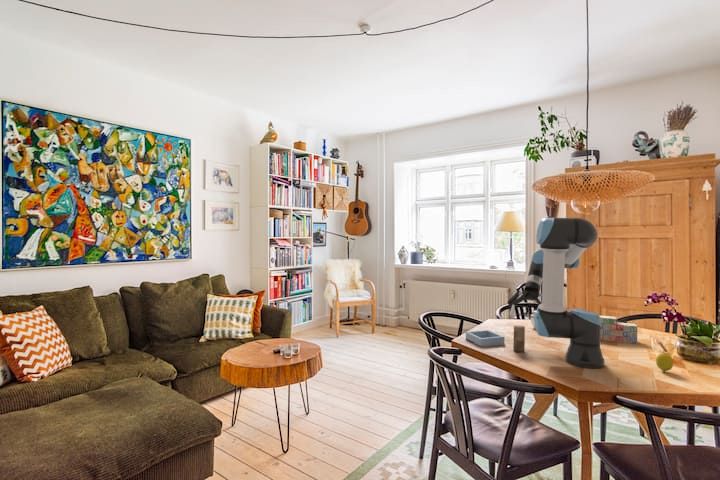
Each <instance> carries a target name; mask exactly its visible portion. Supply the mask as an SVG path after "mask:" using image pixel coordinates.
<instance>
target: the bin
mask: <svg viewBox="0 0 720 480" xmlns="http://www.w3.org/2000/svg"><path fill="white" fill-rule="evenodd" d="M466 339H468V340H470V341H472V342H474V343H476V344H477V346H478V345H479V347H480V346H483V347H493V346H502V345H503V346H504V345H505V336H503V335H501V334H499V333H496V332H494V331H492V330H489V329H485V330H473V331H465V340H466ZM468 340H467V341H468ZM470 341H469V342H470ZM472 342H471V343H472ZM474 343H473V344H474ZM476 344H475V345H476Z"/></svg>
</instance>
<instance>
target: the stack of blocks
mask: <svg viewBox="0 0 720 480" xmlns="http://www.w3.org/2000/svg"><path fill="white" fill-rule="evenodd" d="M599 316H600V320H601V331H600V341H601V340H602V341H607V340H613V341H612V342H617V341H623V342H622V343H626V342H631V343H630V344H636V343H637V344H638V325H637V324H636V323H628V322H619V321H618V318H617V317H616V316H611V315H610V316H609V315H599Z"/></svg>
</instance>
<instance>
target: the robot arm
mask: <svg viewBox="0 0 720 480" xmlns="http://www.w3.org/2000/svg"><path fill="white" fill-rule="evenodd" d="M535 241H536V244H538V245H539V248H540V249H537V250H535V251H534V252H533V254H532V257H531V262H530V266H529V269H528V274H527V277H526V281H525V285H524V288H523V291H521V290H520V289H517V290H516V292H515V294H513V295H512V297H510V299H508V300H507V305H508V306H509V317H510V318H513V315H514V314H515V313H514V312H515V307H516V306H517V305H518V304H520V303H522V302H523V301H535V303H536V304H537V305H538V306H537V309H535V310H534V311H533V314H534V323H535V328H536V329H535V328H534V329H535V331H536V333H537V335H538V336H539V337H540V336H541V337H543V338H554V339H555V338H558V339H560V338H561V339H569V345H568V348H567V351H566V353H565V357H564V358H565V359H564V360H565V361H566V363H569V364H570V365H573V366H576V367H580V368H587V369H601V368H604V367H605V362H606V361H605V358H604V356H603V354H602V353H603V352H602V349H601V340H600V331H601V320H600V316H601V315H599V314H598V313H596V312H593V311H590V310H587V309H583V308H582V309H581V308H571V309H570V310H569V311H567V308H566V306H564V292H565V291H564V288H565V286H564V285H565V269H569V270H571V269H578V267H579V265H580V257H581V256H582V254H583V253H584V252H585V251H586V250H587V249H588V248H591V247H592V246H593V245H594V244H596V242H597V241H598V230H597V228H596V226H595V225H594V224H593V223H592V222H590V221H589V220H588V219H585V218H581V217H549V218H548V217H547V218H546V217H545V218H541V220H540V221H539V223H538V226H537V229H536V240H535ZM541 286H542V287H541ZM540 291H541V293H540ZM539 297H540V298H541V300H540V299H539Z"/></svg>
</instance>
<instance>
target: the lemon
mask: <svg viewBox="0 0 720 480" xmlns="http://www.w3.org/2000/svg"><path fill="white" fill-rule="evenodd" d="M655 363H656V367H657V368H659V369H660V370H661V371H662V372H664V371H666V372H667V371H670V370H672V368H673V367H674V361H673V358H672V356H671V355H669V354H668V353H666V352H663V353H660V354H658V355H657V357H656V360H655Z"/></svg>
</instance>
